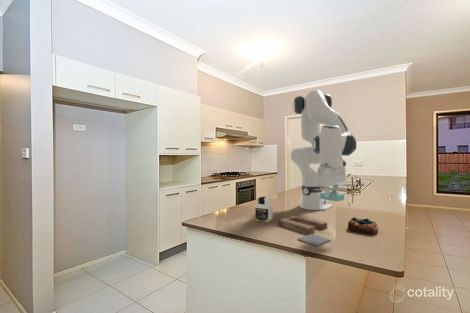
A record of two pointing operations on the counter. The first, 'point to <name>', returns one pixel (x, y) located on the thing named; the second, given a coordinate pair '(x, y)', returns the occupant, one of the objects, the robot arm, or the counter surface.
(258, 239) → the counter surface
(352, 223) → the pastry
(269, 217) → the white black angular body
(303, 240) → the slate mat
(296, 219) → the channel board
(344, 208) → the counter surface
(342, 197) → the block
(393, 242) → the counter surface
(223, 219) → the counter surface
